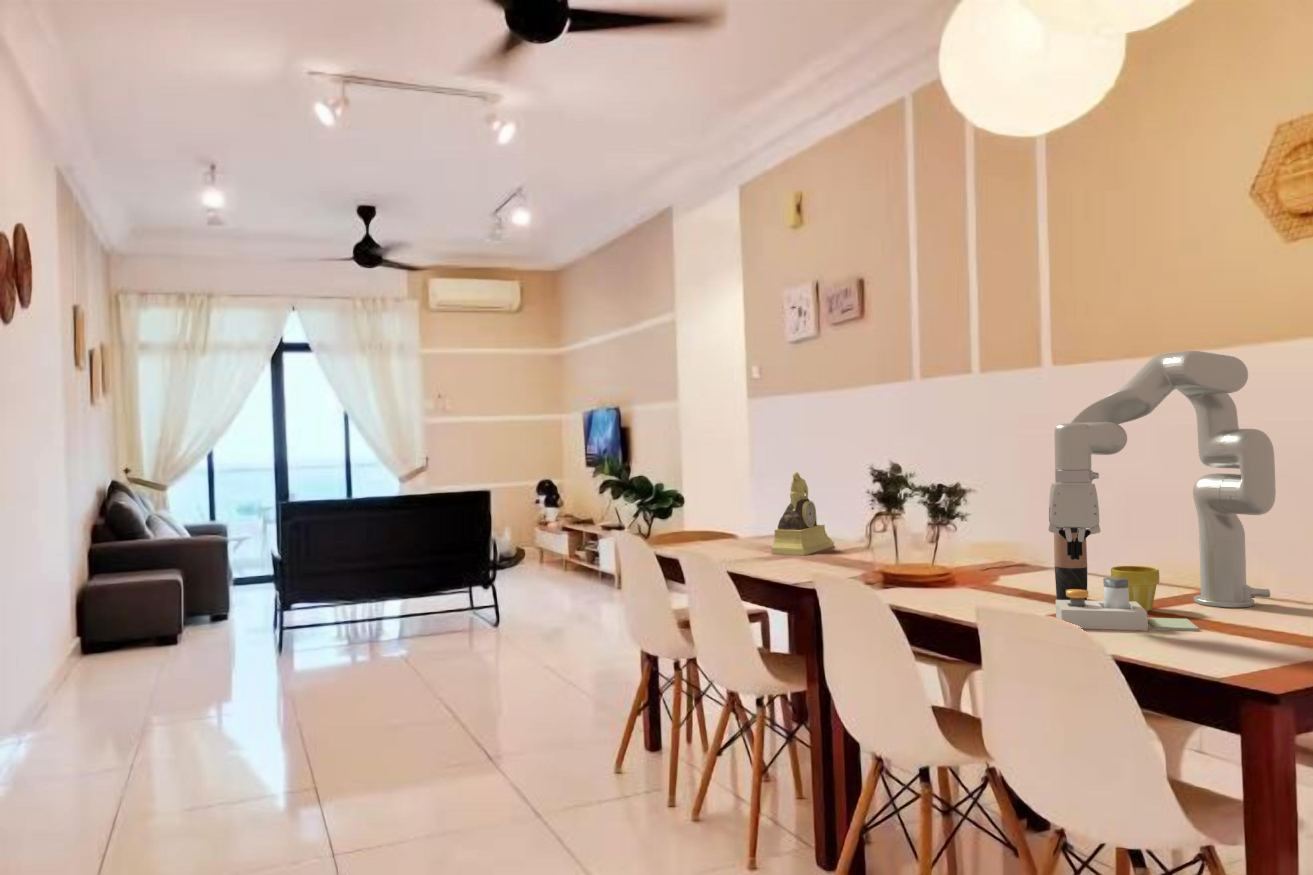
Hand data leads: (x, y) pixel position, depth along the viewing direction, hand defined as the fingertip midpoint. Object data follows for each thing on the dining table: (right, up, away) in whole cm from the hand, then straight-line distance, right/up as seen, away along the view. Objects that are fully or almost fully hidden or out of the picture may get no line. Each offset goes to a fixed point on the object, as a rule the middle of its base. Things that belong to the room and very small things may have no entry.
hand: (1074, 558), depth 206 cm
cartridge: (+8, -14, -2) cm, 17 cm away
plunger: (+1, -12, 0) cm, 12 cm away
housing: (+5, -14, -1) cm, 15 cm away
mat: (+19, -14, -6) cm, 24 cm away
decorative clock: (-39, -16, +140) cm, 146 cm away
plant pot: (+21, -14, +13) cm, 28 cm away
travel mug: (+12, -14, +27) cm, 32 cm away
